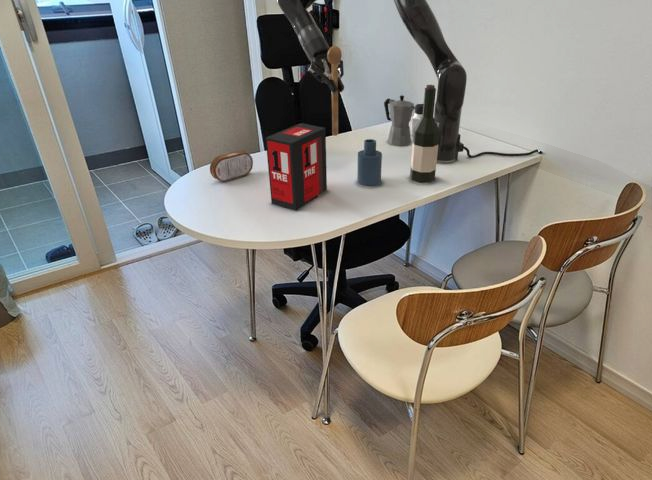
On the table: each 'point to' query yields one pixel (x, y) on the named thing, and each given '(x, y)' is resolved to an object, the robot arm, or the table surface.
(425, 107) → the wine bottle
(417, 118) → the medicine bottle
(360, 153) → the bottle
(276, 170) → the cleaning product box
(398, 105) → the coffeepot
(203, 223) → the table surface
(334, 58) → the spoon
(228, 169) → the tin
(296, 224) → the table surface
